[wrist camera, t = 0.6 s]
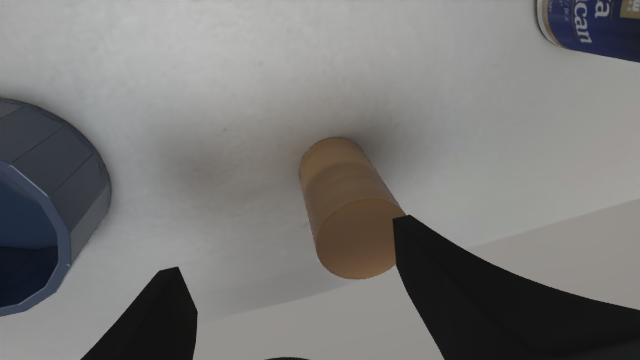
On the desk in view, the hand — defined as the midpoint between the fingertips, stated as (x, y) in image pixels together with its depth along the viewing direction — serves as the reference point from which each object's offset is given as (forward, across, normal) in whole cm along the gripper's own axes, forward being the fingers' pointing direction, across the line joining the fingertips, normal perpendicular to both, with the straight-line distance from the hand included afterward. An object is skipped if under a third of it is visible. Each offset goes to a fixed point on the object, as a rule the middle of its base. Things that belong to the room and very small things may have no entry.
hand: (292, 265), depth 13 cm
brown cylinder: (+9, -3, +1) cm, 10 cm away
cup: (+9, +13, -2) cm, 16 cm away
